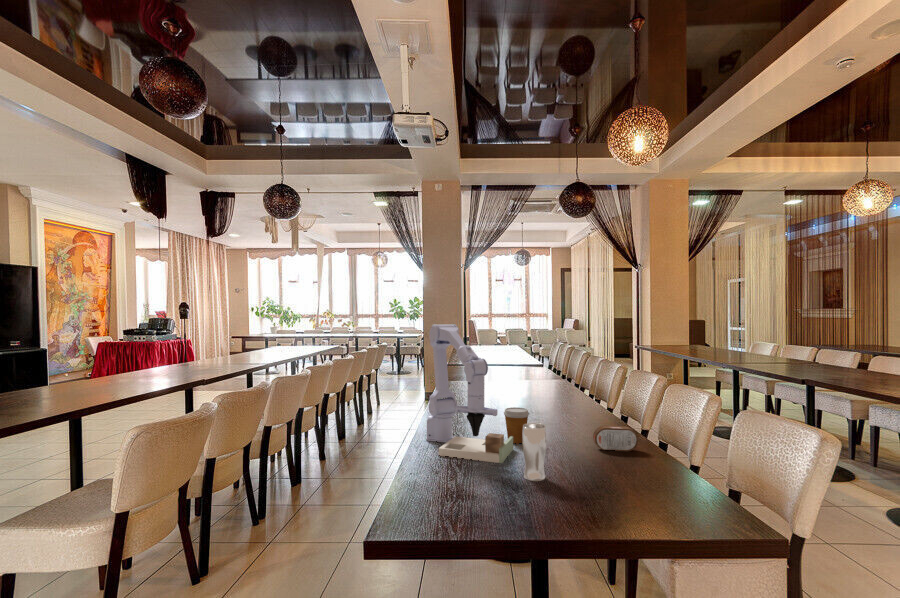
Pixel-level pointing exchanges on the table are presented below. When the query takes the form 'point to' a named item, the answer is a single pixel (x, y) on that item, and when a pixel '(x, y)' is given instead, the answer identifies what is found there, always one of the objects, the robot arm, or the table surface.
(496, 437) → the walnut block
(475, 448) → the trap board
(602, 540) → the table surface
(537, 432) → the beer glass
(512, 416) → the disposable coffee cup
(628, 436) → the tin
